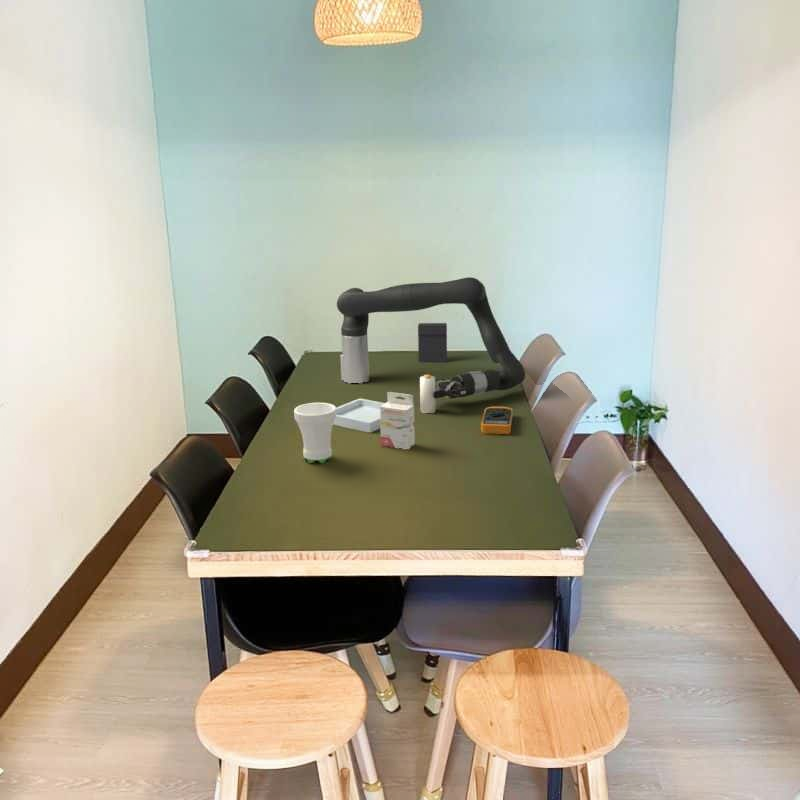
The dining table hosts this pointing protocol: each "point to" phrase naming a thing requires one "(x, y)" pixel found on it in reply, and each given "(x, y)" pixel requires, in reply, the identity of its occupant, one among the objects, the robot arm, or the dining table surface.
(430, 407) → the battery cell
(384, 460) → the dining table surface
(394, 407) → the ink cartridge box
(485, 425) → the multimeter
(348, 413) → the pale blue square tray
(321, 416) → the cup
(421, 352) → the dark grey box
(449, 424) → the dining table surface
